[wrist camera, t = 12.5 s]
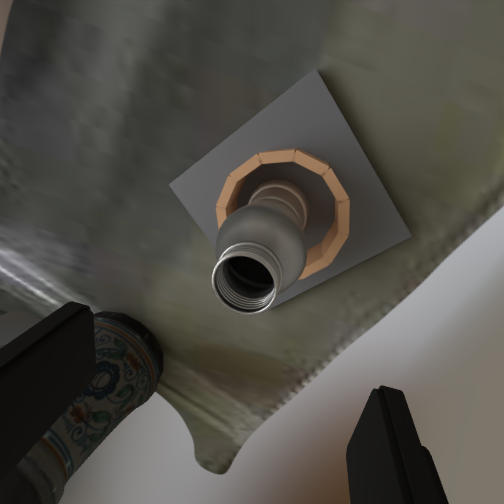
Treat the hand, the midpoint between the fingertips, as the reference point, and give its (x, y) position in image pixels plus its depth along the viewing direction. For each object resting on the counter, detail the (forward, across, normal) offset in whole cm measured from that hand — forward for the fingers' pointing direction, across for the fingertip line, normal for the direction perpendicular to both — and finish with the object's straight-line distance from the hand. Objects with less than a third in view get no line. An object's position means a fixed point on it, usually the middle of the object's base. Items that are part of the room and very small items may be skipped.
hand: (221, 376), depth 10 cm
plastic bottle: (+27, +1, 0) cm, 27 cm away
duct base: (+28, 0, +1) cm, 28 cm away
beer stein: (+28, +23, +29) cm, 46 cm away
